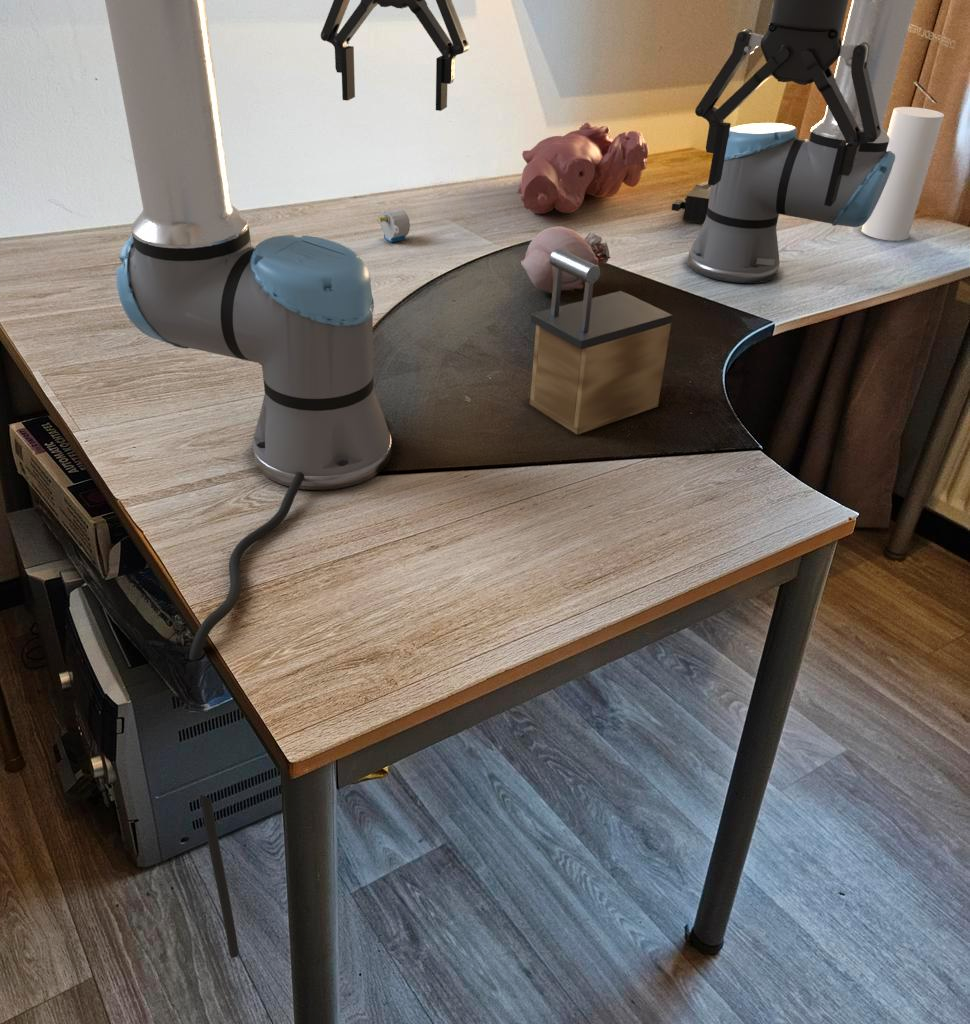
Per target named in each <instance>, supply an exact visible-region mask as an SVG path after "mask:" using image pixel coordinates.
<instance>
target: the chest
mask: <svg viewBox="0 0 970 1024" xmlns="http://www.w3.org/2000/svg"><path fill="white" fill-rule="evenodd" d="M671 329H672V322H671V323H670V324H666V325H663V326H659V327H656V328H652V329H649V330H645V331H642V332H639V333H635V334H632V335H628V336H625V337H621V338H618V339H614V340H611V341H608V342H604V343H601V344H597V345H594V346H590V347H587V348H583V349H580V348H578V347H576V346H574V345H572V344H570V343H569V342H567V341H565V340H563V339H561V338H560V337H558V336H556V335H554V334H552V333H551V332H549V331H547V330H545V329H543V328H541V327H540V326H538V325H536V324H535V334H534V347H533V359H532V373H531V385H530V396H529V397H530V398H529V405H530V406H531V407H533V408H534V409H536V410H538V411H539V412H540V413H542V414H543V415H545V416H546V417H549V418H550V419H552V420H554V422H556V423H558V424H559V425H561V426H563V427H564V428H566V429H567V430H569V431H571V432H572V433H574V434H575V435H577V436H578V435H581V434H583V433H586V432H589V431H592V430H595V429H598V428H600V427H603V426H607V425H609V424H612V423H615V422H617V421H620V420H625V419H626V418H630V417H632V416H635V415H638V414H640V413H643V412H646V411H649V410H652V409H655V408H657V407H659V405H660V394H661V389H662V384H663V383H662V382H663V377H664V370H665V365H666V360H667V359H666V358H667V353H668V346H669V340H670V334H671V333H670V332H671Z"/></svg>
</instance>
